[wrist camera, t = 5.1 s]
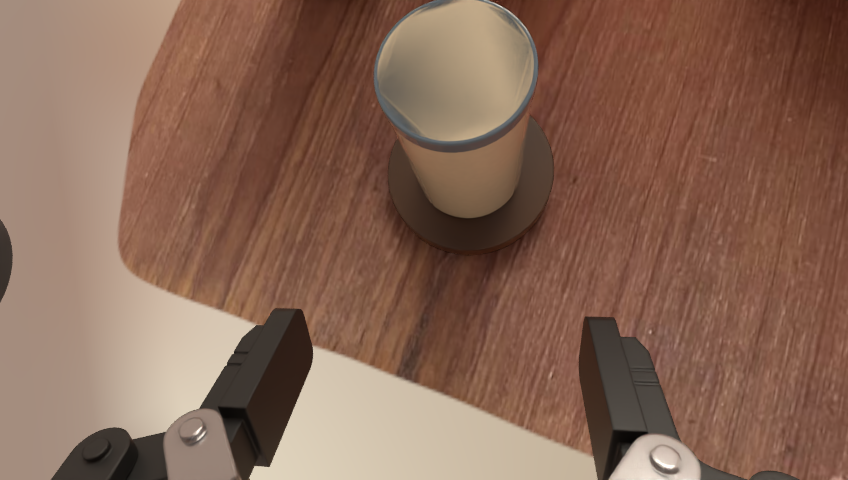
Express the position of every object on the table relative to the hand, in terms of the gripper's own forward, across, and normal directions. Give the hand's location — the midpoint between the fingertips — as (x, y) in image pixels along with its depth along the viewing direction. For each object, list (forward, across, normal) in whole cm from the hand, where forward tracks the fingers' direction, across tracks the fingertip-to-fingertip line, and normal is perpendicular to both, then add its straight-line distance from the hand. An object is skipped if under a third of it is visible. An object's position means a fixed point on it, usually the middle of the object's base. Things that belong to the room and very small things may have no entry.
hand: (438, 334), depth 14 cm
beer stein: (+18, 0, +2) cm, 18 cm away
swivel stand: (+18, 0, +4) cm, 18 cm away
